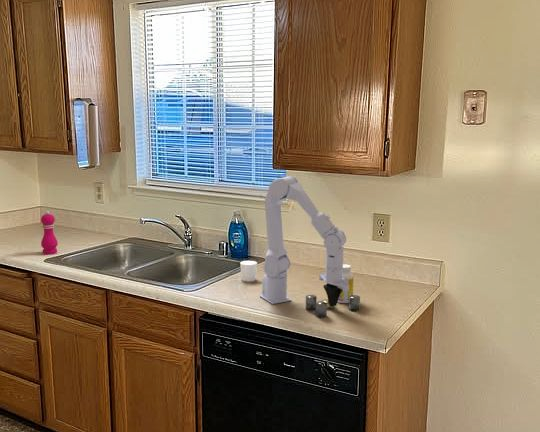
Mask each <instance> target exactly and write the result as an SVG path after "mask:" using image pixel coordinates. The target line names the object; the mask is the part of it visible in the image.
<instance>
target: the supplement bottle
mask: <svg viewBox="0 0 540 432" xmlns="http://www.w3.org/2000/svg"><path fill="white" fill-rule="evenodd" d="M351 270H352V266H351V265H350V264H348V263H347V264H345V263H343V277H342V278H344V279H345V282H346V283H347V284H348V285H349V291H342V292H341V294H340V296H339V299H338V302H337V303H338V304H339V303H340V304H349V296H351V295H354V274H353V272H351Z"/></svg>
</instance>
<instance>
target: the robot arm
mask: <svg viewBox="0 0 540 432" xmlns="http://www.w3.org/2000/svg"><path fill="white" fill-rule="evenodd" d="M286 199H287V200H289V201H290V200H291V201H295V202H296V203H297V204H298V205H299V206H300V207H301V208H302V210H304V212H305V213H306V214H307V215H308V217H310V220H311V221H310V224H311V226H312V227H313V228H314V229H315V230H316V231H317V234H318V235H320V237H321V238H322V239H323V246H324V247H325V249H326V252H325V273H321V274H319V276H318V277H319V279H318V280H320V281H323V282H324V283H326V284H324V285H323V289H324V291H325V293H326V295H327V299H328V301H329V305H330V306H331V307H333V306H334V307H336V306H337V305H338V303H339V302H338V299H339V296H340V294H341V292H342V291H349V285H348V284H347V283H346V282H345V279H344V278H342V277H343V264H344V245H346V242H347V236H346V234H345V232H344V230H343V231H342V230H340V229H339V228H338V227H337V226H335V224H334V222H332V221H331V219H330V218H331V216H329V214H326V213H325V212H320V211H319V210H318V208H317V207H316V205H315V204H314V202H313V201H312V199H311V198H310V197H309V195H308V194H307V193H306V191H305V189H304V187H303V184H301V183H300V182H299V181H298V179H297V178H296V177H294V176H292V175H288V176H285V177H279V178H275V179H274V180H273V181H272V182H271V183H269V185H268V190H267V192H266V195H265V198H264V209H265V210H264V211H265V221H266V222H265V223H266V232H267V233H266V235H267V246H268V249H267V251H266V254H265V256H264V263H263V267H262V268H263V272H264V273H265V274H264V275H263V277H262V279H261V294H259V297H261V298H262V299H264V300H265V301H267V302H268V303H270V304H271V305H274V304H280V303H286V302H291V301H292V298H290V297H289V296H287V295H288V291H287V288H288V284H287V283H288V272H287V271H288V270H289V268H290V267H291V261H290V258H289V256H288V251H287V250H286V248H285V247H284V246H285V245H284V233H283V232H284V231H283V222H282V221H283V220H282V208H281V206H282V205H281V204H282V203H283V202H284V201H285V200H286Z"/></svg>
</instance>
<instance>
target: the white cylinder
mask: <svg viewBox="0 0 540 432" xmlns="http://www.w3.org/2000/svg"><path fill="white" fill-rule="evenodd" d="M239 264H240V277H241V281H243V282H249V283H250V282H254V281H256V278H257V268H258V262H257V261H255V260H242V261H240V262H239Z"/></svg>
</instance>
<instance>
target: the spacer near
mask: <svg viewBox="0 0 540 432" xmlns="http://www.w3.org/2000/svg"><path fill="white" fill-rule="evenodd" d="M316 302H317V295H315V294H306V295H305V310H306V311H308V312H316Z"/></svg>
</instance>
